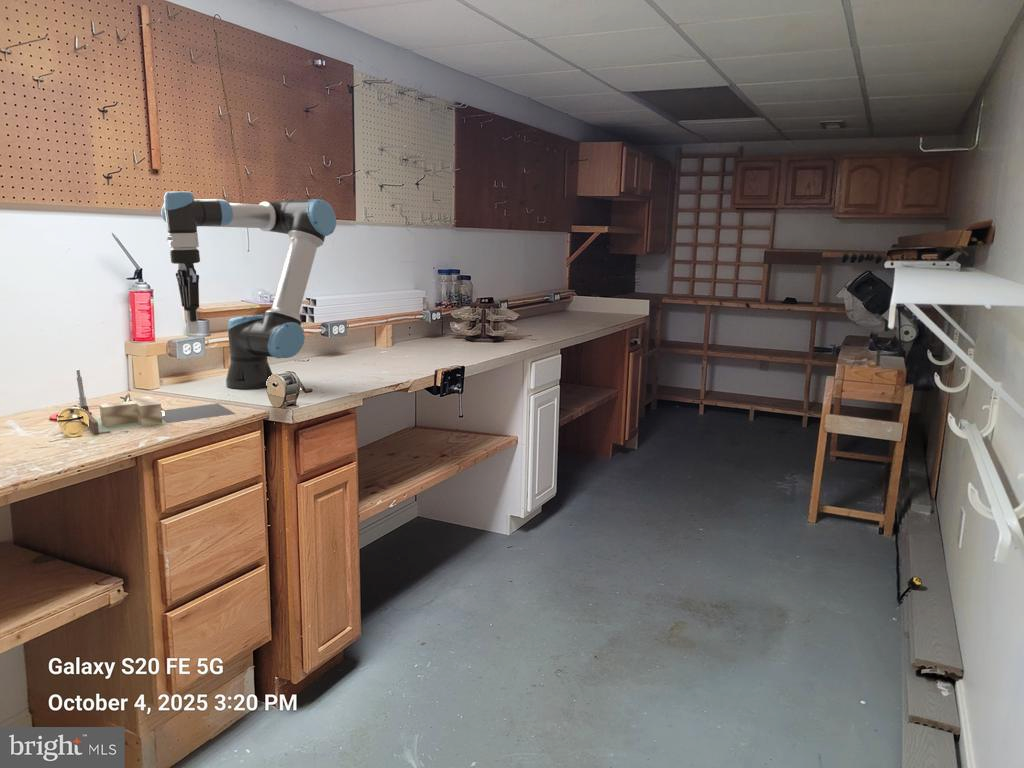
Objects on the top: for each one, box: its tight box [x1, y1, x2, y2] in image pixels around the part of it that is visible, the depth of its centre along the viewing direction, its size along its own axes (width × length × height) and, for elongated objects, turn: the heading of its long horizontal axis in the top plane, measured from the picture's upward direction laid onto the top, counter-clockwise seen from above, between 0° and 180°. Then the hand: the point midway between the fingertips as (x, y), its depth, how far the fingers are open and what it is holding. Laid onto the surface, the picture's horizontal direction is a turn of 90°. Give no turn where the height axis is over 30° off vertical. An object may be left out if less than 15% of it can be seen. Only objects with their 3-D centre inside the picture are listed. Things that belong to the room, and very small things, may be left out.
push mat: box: [85, 402, 236, 435], centre depth 202 cm, size 35×16×3 cm, turn 128°
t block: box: [99, 395, 162, 426], centre depth 197 cm, size 13×12×5 cm
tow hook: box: [49, 369, 92, 422], centre depth 202 cm, size 8×13×9 cm
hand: (193, 332), depth 212 cm, fingers closed
